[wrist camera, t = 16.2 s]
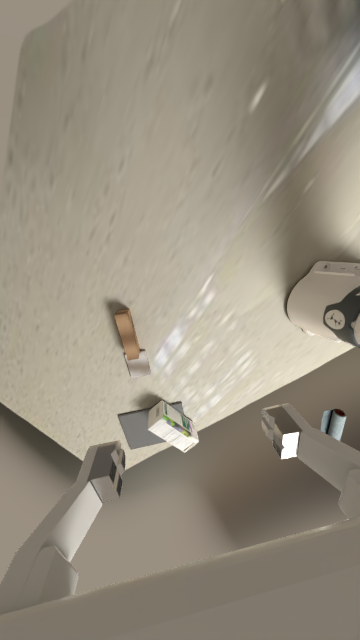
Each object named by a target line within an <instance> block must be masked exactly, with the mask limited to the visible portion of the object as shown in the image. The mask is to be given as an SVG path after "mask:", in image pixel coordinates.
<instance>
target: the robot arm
mask: <svg viewBox="0 0 360 640" xmlns="http://www.w3.org/2000/svg"><path fill="white" fill-rule="evenodd" d="M324 266H325V267H324ZM287 313H288V316H289V319H290V320H291V321H292V323H294V324H295V325H296V326H299V327H300V328H302V329H303V331H304V332H305V334H307V335H309V336H313V335H319V336H321V337H324V338H327V339H329V340H332V341H335V342H340V341H344V342H346V343H348V344H350V345H352V346H356V347H359V348H360V263H347V262H330V261H318V262H316V263H315V264H314V266H313V267H312V269H311V270H310V272H309V273H308V274H307V275H306V276H305V277H304V278H303V279H301V280H300V281H299V282H298V283H297V285H296V286H295V287H294V289H293V290H292V292H291V294H290V296H289V299H288V303H287ZM262 415H263V418H262V419H261V423H262V427H263V430H264V432H265V434H266V436H267V437H268V438H269V439H271V440H272V441H273V447H274V449H275V450H276V452H277V454H278V455H279V457H280V458H281V459H285V458H290V457H295V456H297V458H299V459H300V460H301V461H302V462H304V463H305V464H306V465H308V466H309V467H310V468H311V469H313V470H314V471H315V472H317V473H318V474H319V475H320V476H322V477H323V478H324V479H325V480H327V481H328V482H329V483H331V484H332V485H333V486H334V487H336V488H337V489H338V490H340V491H341V492H342V494H341V496H340V499H339V507H340V508H341V510H342V511H343V512H344V514H345V515H346V517H347V518H348V519H349V520H346V521H342V522H339V523H335V524H331V525H328V526H324V527H321V528H317V529H313V530H309V531H306V532H302V533H299V534H295V535H291V536H288V537H284V538H280V539H276V540H273V541H269V542H265V543H262V544H258V545H255V546H251V547H247V548H243V549H240V550H236V551H232V552H229V553H225V554H222V555H218V556H214V557H210V558H207V559H203V560H200V561H196V562H192V563H188V564H185V565H181V566H177V567H174V568H170V569H166V570H163V571H159V572H156V573H152V574H148V575H144V576H141V577H137V578H134V579H130V580H126V581H122V582H119V583H115V584H112V585H108V586H104V587H100V588H97V589H93V590H90V591H86V592H82V593H78V594H75V595H74V592H75V588H76V584H77V580H78V576H79V575H78V572H77V570H76V569H75V568H74V567H73V566H72V564H71V563H70V561H71V559H72V558H73V555H74V554H75V552H76V550H77V549H78V547H79V545H80V543H81V541H82V540H83V538H84V536H85V534H86V533H87V531H88V529H89V527H90V526H91V524H92V522H93V520H94V519H95V517H96V515H97V513H98V511H99V510H100V508H101V506H102V503H104V502H108V501H112V500H115V499H118V498H120V495H121V489H122V483H123V481H122V479H121V475H122V474H123V472H124V470H125V452H124V450H123V449H121V442H120V440H119V441H114V442H109V443H104V444H99V445H94V446H90V447H89V449H88V451H87V453H86V456H85V459H84V461H83V464H82V467H81V470H80V472H79V475H78V478H77V480H76V483H75V484H74V485H72V486H71V487H70V488H69V489H68V490H67V492H66V493H65V494H64V495H63V496H62V498H61V499H60V500H59V501H58V503H57V504H56V505H55V506H54V507H53V509H52V510H51V511H50V512H49V513H48V515H47V516H46V517H45V518H44V519H43V521H42V522H41V523H40V524H39V526H38V527H37V528H36V529H35V530H34V532H33V533H32V534H31V535H30V537H29V538H28V539H27V540H26V541H25V542H24V544H23V545H22V546H21V547H20V548H19V550H18V551H17V552H16V553H15V555H14V557H13V560H12V562H11V564H10V566H9V568H8V570H7V572H6V574H5V576H4V578H3V580H2V582H1V584H0V640H360V452H359V451H357V450H355V449H354V448H351V447H350V446H348V445H346V444H344V443H342V442H340V441H338V440H336V439H335V438H333V437H331V436H329V435H327V434H325V433H323V432H321V431H319V430H318V429H312V427H311V426H310V425H309V424H308V423H307V422H306V421H305V420H304V419H303V418H302V417H301V415H300V414H299V413H298V412H297V411H296V410H295V409H294V408H293V407H292V406H291V405H290V404H289V403H286V404H282V405H276V406H272V407H268V408H263V409H262Z"/></svg>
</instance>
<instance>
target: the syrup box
mask: <svg viewBox="0 0 360 640" xmlns="http://www.w3.org/2000/svg"><path fill="white" fill-rule="evenodd" d="M148 430H149V431H151V432H152V433H154V434H156V435H157V436H159V437H160V438H162V439H164V440H165V441H167V442H169V443H170V444H172V445H173V446H175V447H177V448H178V449H180V450H182V451H183V452H186V451H188V450H189V449H191V448H192V447H193V446H195V445H196V444H197V443H198V442H199V439H198V435H197V431H196V427H195V423H193V422H192V421H190V420H189V419H188V418H186V417H185V416H183V415H182V414H181V413H179V412H178V411H177V410H175V409H174V408H172V407H171V406H170V405H168V404H167V403H166V402H164V401H163V400H161V401H160V402H159V403H158V404H157V405H155V406H154V407H153V408H152V409H151V410H150V411H149V415H148Z"/></svg>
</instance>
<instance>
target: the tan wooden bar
mask: <svg viewBox="0 0 360 640" xmlns="http://www.w3.org/2000/svg"><path fill="white" fill-rule="evenodd" d="M114 316H115V320H116V323H117V326H118V330H119V333H120V336H121V340H122V343H123V346H124V350H125V353H126V354H125V358H126V361H127V365H128V368H129V371H130V374H131V378H137V377H142V376H147V375H151V370H150V366H149V362H148V358H147V354H146V350H142V351H140V348H139V344H138V340H137V336H136V332H135V329H134V325H133V321H132V317H131V313H130V310H129V309H125V310H119V311H118V312H117V313H116V314H115V315H114Z"/></svg>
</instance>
